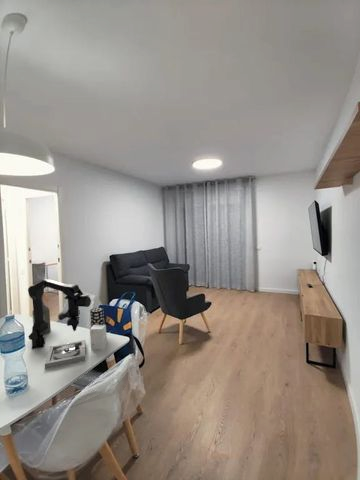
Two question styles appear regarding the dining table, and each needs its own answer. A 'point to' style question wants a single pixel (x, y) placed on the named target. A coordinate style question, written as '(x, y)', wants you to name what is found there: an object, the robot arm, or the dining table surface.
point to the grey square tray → (53, 362)
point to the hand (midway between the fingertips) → (74, 330)
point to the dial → (66, 351)
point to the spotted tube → (97, 316)
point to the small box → (98, 337)
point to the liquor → (44, 315)
